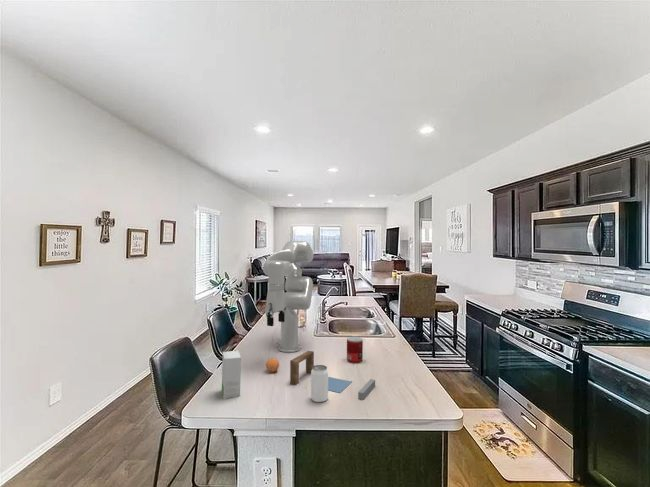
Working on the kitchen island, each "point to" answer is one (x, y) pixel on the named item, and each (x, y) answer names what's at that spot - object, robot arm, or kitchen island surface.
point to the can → (319, 383)
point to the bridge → (295, 366)
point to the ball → (272, 365)
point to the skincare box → (231, 374)
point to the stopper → (366, 389)
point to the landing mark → (337, 384)
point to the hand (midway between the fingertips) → (276, 323)
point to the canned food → (354, 349)
